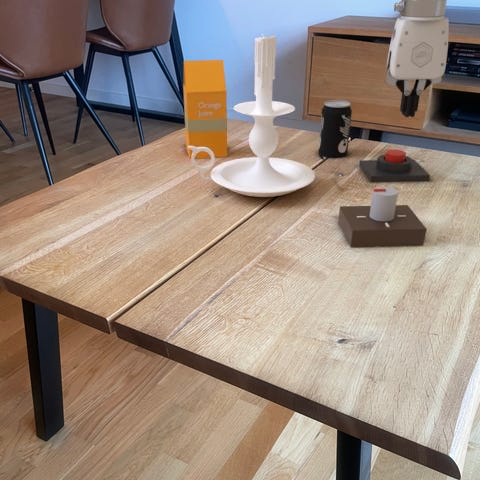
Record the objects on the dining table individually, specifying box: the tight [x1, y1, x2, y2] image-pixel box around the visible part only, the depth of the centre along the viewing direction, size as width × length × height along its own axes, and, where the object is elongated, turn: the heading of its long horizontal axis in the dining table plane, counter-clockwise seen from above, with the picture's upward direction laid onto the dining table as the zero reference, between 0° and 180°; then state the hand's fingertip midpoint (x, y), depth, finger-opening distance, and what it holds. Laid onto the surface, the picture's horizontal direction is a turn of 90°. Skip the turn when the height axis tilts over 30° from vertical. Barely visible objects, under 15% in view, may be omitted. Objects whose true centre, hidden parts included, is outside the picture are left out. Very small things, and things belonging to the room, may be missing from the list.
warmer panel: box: [337, 204, 427, 248], centre depth 93 cm, size 12×10×3 cm
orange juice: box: [182, 59, 228, 160], centre depth 125 cm, size 8×9×20 cm
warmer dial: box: [369, 186, 399, 222], centre depth 91 cm, size 4×4×5 cm
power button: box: [385, 149, 407, 163], centre depth 114 cm, size 4×4×2 cm
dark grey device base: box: [358, 153, 431, 183], centre depth 116 cm, size 12×10×4 cm
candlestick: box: [188, 33, 316, 198], centre depth 103 cm, size 21×25×28 cm
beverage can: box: [318, 99, 353, 161], centre depth 124 cm, size 7×7×12 cm
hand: (407, 115), depth 110 cm, fingers closed
